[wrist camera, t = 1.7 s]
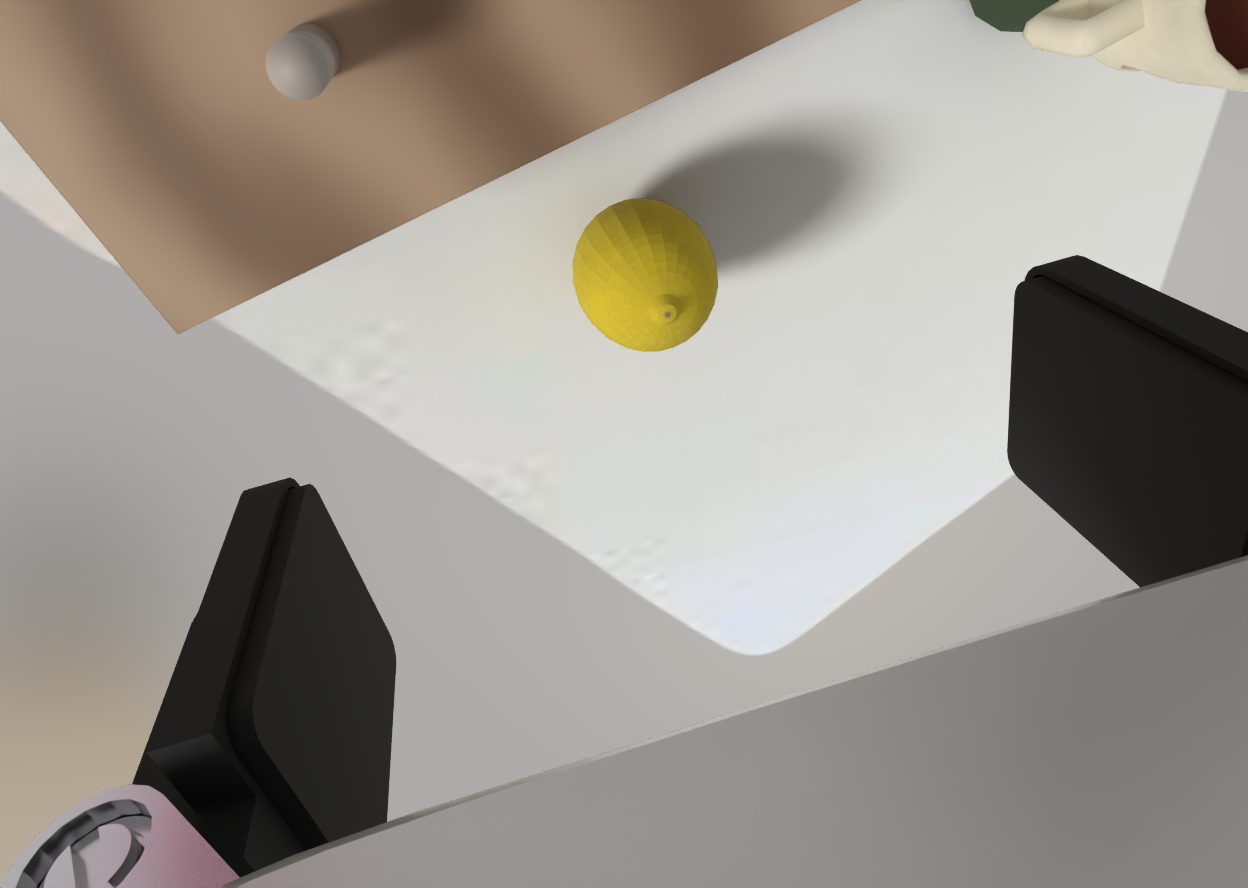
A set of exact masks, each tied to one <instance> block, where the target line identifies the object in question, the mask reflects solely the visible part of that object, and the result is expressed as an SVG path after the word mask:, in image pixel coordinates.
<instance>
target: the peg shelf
mask: <svg viewBox="0 0 1248 888" xmlns="http://www.w3.org/2000/svg"><path fill="white" fill-rule="evenodd" d="M859 1H861V0H0V121H1V122H2V124H3V125H4V126H5V127H6V128H7V130H8V131H9V132H10V133H11V135H12V136H13V137H14V138H15V139H16V141H17V142H18V143H19V144H20V145H21V147H22V148H23V149H24V150H25V151H26V153H27V154H28V155H29V156H30V157H31V159H32V160H33V161H34V162H35V163H36V165H37V166H38V167H39V168H40V169H41V171H42V172H43V173H44V174H45V175H46V177H47V178H48V179H49V180H50V181H51V183H52V184H53V185H54V186H55V187H56V189H57V190H58V191H59V192H60V194H61V195H62V196H63V197H64V198H65V200H66V201H67V202H68V203H69V204H70V206H71V207H72V208H73V209H74V210H75V212H76V213H77V214H78V215H79V216H80V218H81V219H82V220H83V221H84V222H85V224H86V225H87V226H88V227H89V228H90V230H91V231H92V232H93V233H94V234H95V236H96V237H97V238H98V239H99V240H100V242H101V243H102V244H103V245H104V247H105V248H106V249H107V250H108V251H109V253H110V254H111V255H112V256H113V257H114V259H115V260H116V261H117V262H118V263H119V265H120V266H121V267H122V268H123V269H124V271H125V272H126V273H127V274H128V275H129V277H130V278H131V279H132V280H133V281H134V283H135V284H136V285H137V286H138V287H139V289H140V290H141V291H142V292H143V293H144V295H145V296H146V297H147V298H148V299H149V301H150V302H151V303H152V304H153V306H154V307H155V308H156V309H157V310H158V311H159V312H160V314H161V315H162V316H163V317H164V319H165V320H166V321H167V322H168V324H169V325H170V326H171V327H172V328H173V330H174V331H175V332H176V333H177V334H180V333H182V332H184V331H186V330H188V329H190V328H192V327H194V326H196V325H198V324H200V323H202V322H204V321H206V320H209V319H211V318H213V317H215V316H217V315H219V314H221V313H223V312H225V311H227V310H229V309H231V308H233V307H235V306H237V305H239V304H241V303H243V302H245V301H247V300H249V299H251V298H253V297H256V296H258V295H260V294H262V293H264V292H266V291H268V290H270V289H272V288H274V287H276V286H278V285H280V284H282V283H284V282H286V281H288V280H290V279H292V278H294V277H296V276H298V275H300V274H303V273H305V272H307V271H309V270H311V269H313V268H315V267H317V266H319V265H321V264H323V263H325V262H327V261H329V260H331V259H333V258H335V257H337V256H339V255H341V254H343V253H345V252H348V251H350V250H352V249H354V248H356V247H358V246H360V245H362V244H364V243H366V242H368V241H370V240H372V239H374V238H376V237H378V236H380V235H382V234H384V233H386V232H388V231H390V230H392V229H395V228H397V227H399V226H401V225H403V224H405V223H407V222H409V221H411V220H413V219H415V218H417V217H419V216H421V215H423V214H425V213H427V212H429V211H431V210H433V209H435V208H437V207H440V206H442V205H444V204H446V203H448V202H450V201H452V200H454V199H456V198H458V197H460V196H462V195H464V194H466V193H468V192H470V191H472V190H474V189H476V188H478V187H480V186H482V185H484V184H487V183H489V182H491V181H493V180H495V179H497V178H499V177H501V176H503V175H505V174H507V173H509V172H511V171H513V170H515V169H517V168H519V167H521V166H523V165H525V164H527V163H529V162H532V161H534V160H536V159H538V158H540V157H542V156H544V155H546V154H548V153H550V152H552V151H554V150H556V149H558V148H560V147H562V146H564V145H566V144H568V143H570V142H572V141H574V140H576V139H579V138H581V137H583V136H585V135H587V134H589V133H591V132H593V131H595V130H597V129H599V128H601V127H603V126H605V125H607V124H609V123H611V122H613V121H615V120H617V119H619V118H621V117H624V116H626V115H628V114H630V113H632V112H634V111H636V110H638V109H640V108H642V107H644V106H646V105H648V104H650V103H652V102H654V101H656V100H658V99H660V98H662V97H664V96H666V95H668V94H671V93H673V92H675V91H677V90H679V89H681V88H683V87H685V86H687V85H689V84H691V83H693V82H695V81H697V80H699V79H701V78H703V77H705V76H707V75H709V74H711V73H713V72H716V71H718V70H720V69H722V68H724V67H726V66H728V65H730V64H732V63H734V62H736V61H738V60H740V59H742V58H744V57H746V56H748V55H750V54H752V53H754V52H756V51H758V50H760V49H763V48H765V47H767V46H769V45H771V44H773V43H775V42H777V41H779V40H781V39H783V38H785V37H787V36H789V35H791V34H793V33H795V32H797V31H799V30H801V29H803V28H805V27H808V26H810V25H812V24H814V23H816V22H818V21H820V20H822V19H824V18H826V17H828V16H830V15H832V14H834V13H836V12H838V11H840V10H842V9H844V8H846V7H848V6H850V5H852V4H855V3H857V2H859Z"/></svg>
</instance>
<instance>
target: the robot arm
mask: <svg viewBox="0 0 1248 888" xmlns="http://www.w3.org/2000/svg"><path fill="white" fill-rule="evenodd" d="M1007 452H1008V459H1009V463H1010V466H1011V468H1012V470H1013V472H1014V473H1015V475H1016V476H1017V477H1018V478H1019V479H1020V480H1021V481H1022V482H1023V483H1024V484H1026V485H1027V486H1028V487H1029V488H1030V489H1031V490H1032V491H1033V492H1034V493H1035V494H1037V495H1038V496H1039V497H1040V498H1041V499H1042V500H1043V501H1044V502H1046V503H1047V504H1048V505H1049V506H1050V507H1051V508H1052V509H1053V510H1054V511H1056V512H1057V513H1058V514H1059V515H1060V516H1061V517H1062V518H1063V519H1065V520H1066V521H1067V522H1068V523H1069V524H1070V525H1071V526H1072V527H1073V528H1075V529H1076V530H1077V531H1078V532H1079V533H1080V534H1081V535H1082V536H1083V537H1085V538H1086V539H1087V540H1088V541H1089V542H1090V543H1091V544H1093V545H1094V546H1095V547H1096V548H1097V549H1098V550H1099V551H1100V552H1101V553H1103V554H1104V555H1105V556H1106V557H1107V558H1108V559H1109V560H1110V561H1111V562H1112V563H1114V564H1115V565H1116V566H1117V567H1118V568H1119V569H1120V570H1121V571H1123V572H1124V573H1125V574H1126V575H1127V576H1128V577H1129V578H1130V579H1132V580H1133V581H1134V582H1135V583H1136V584H1137V585H1138V586H1139V587H1140V588H1138V589H1134V590H1131V591H1127V592H1124V593H1121V594H1117V595H1114V596H1111V597H1107V598H1105V599H1101V600H1098V601H1095V602H1091V603H1088V604H1084V605H1081V606H1078V607H1074V608H1071V609H1068V610H1064V611H1061V612H1058V613H1054V614H1051V615H1048V616H1044V617H1041V618H1038V619H1034V620H1031V621H1028V622H1025V623H1021V624H1018V625H1015V626H1011V627H1008V628H1005V629H1002V630H998V631H995V632H992V633H989V634H986V635H982V636H979V637H976V638H972V639H969V640H966V641H962V642H959V643H956V644H953V645H949V646H946V647H943V648H940V649H937V650H933V651H930V652H927V653H923V654H920V655H917V656H914V657H910V658H907V659H904V660H900V661H897V662H894V663H891V664H887V665H884V666H881V667H878V668H874V669H871V670H868V671H865V672H861V673H858V674H855V675H852V676H849V677H845V678H842V679H839V680H836V681H833V682H829V683H826V684H823V685H820V686H816V687H813V688H810V689H807V690H803V691H800V692H797V693H793V694H790V695H787V696H784V697H781V698H777V699H774V700H771V701H768V702H764V703H761V704H758V705H755V706H752V707H748V708H745V709H742V710H739V711H735V712H732V713H730V714H726V715H723V716H719V717H716V718H713V719H710V720H707V721H703V722H700V723H697V724H694V725H691V726H687V727H684V728H681V729H678V730H675V731H672V732H668V733H665V734H662V735H659V736H656V737H652V738H649V739H646V740H643V741H640V742H637V743H633V744H630V745H627V746H624V747H621V748H617V749H614V750H611V751H608V752H605V753H601V754H598V755H595V756H592V757H589V758H585V759H582V760H579V761H576V762H573V763H570V764H566V765H563V766H560V767H557V768H554V769H550V770H547V771H544V772H541V773H538V774H534V775H531V776H528V777H525V778H522V779H519V780H515V781H513V782H509V783H506V784H503V785H500V786H496V787H493V788H490V789H487V790H484V791H481V792H477V793H475V794H471V795H468V796H465V797H462V798H458V799H455V800H452V801H449V802H446V803H443V804H439V805H436V806H433V807H430V808H427V809H424V810H421V811H417V812H415V813H412V814H409V815H406V816H404V817H400V818H397V819H395V820H392V821H389V822H387V810H388V793H389V777H390V760H391V759H390V758H391V742H392V726H393V708H394V691H395V675H396V654H395V649H394V644H393V641H392V638H391V636H390V634H389V631H388V629H387V627H386V625H385V623H384V622H383V619H382V618H381V616H380V614H379V612H378V610H377V608H376V606H375V604H374V602H373V600H372V598H371V596H370V594H369V592H368V590H367V588H366V586H365V584H364V582H363V580H362V578H361V576H360V574H359V572H358V570H357V568H356V566H355V565H354V562H353V560H352V558H351V557H350V554H349V552H348V551H347V548H346V546H345V544H344V542H343V540H342V539H341V537H340V535H339V533H338V531H337V529H336V527H335V525H334V523H333V521H332V519H331V517H330V515H329V513H328V511H327V509H326V507H325V505H324V503H323V501H322V499H321V497H320V495H319V493H318V492H317V490H316V489H315V488H314V486H313V485H310V484H308V485H304V486H299V484H298V483H297V482H296V481H295V480H294V479H292V478H287V479H283V480H280V481H276V482H273V483H269V484H266V485H262V486H258V487H255V488H251V489H248V490H245V491H243V493H242V494H241V497H240V499H239V502H238V505H237V508H236V510H235V513H234V515H233V518H232V521H231V524H230V526H229V529H228V532H227V535H226V537H225V540H224V543H223V545H222V548H221V551H220V554H219V557H218V559H217V562H216V565H215V567H214V570H213V573H212V575H211V578H210V581H209V584H208V587H207V589H206V592H205V595H204V597H203V600H202V603H201V606H200V608H199V611H198V613H197V615H196V617H195V618H194V620H193V622H192V624H191V626H190V629H189V632H188V634H187V637H186V640H185V643H184V645H183V648H182V651H181V654H180V656H179V659H178V661H177V664H176V667H175V670H174V672H173V675H172V678H171V680H170V683H169V686H168V689H167V691H166V694H165V697H164V699H163V702H162V705H161V707H160V710H159V713H158V715H157V718H156V721H155V724H154V726H153V729H152V732H151V734H150V737H149V740H148V742H147V745H146V748H145V751H144V753H143V756H142V759H141V762H140V764H139V767H138V769H137V772H136V775H135V778H134V781H133V783H132V784H129V785H125V786H120V787H116V788H112V789H108V790H105V791H103V792H101V793H99V794H96V795H94V796H92V797H90V798H88V799H86V800H83V801H81V802H80V803H78V804H77V805H75V806H74V807H72V808H71V809H69V810H68V811H66V812H65V813H63V814H62V815H60V816H59V817H58V818H56V819H55V820H54V821H53V822H51V823H50V825H48V826H47V827H46V828H45V829H44V830H43V831H42V832H41V833H39V834H38V835H37V836H36V837H35V838H34V839H33V840H32V841H31V842H30V843H29V845H28V846H27V847H26V848H25V849H24V851H23V852H22V853H21V854H20V856H19V857H18V858H17V859H16V861H15V862H14V863H13V864H12V866H11V868H10V869H9V871H8V873H7V875H6V877H5V879H4V880H3V882H2V884H1V886H0V888H1248V332H1246V331H1243V330H1241V329H1239V328H1237V327H1235V326H1233V325H1230V324H1228V323H1226V322H1224V321H1222V320H1220V319H1217V318H1215V317H1213V316H1211V315H1209V314H1207V313H1205V312H1202V311H1200V310H1198V309H1196V308H1194V307H1192V306H1189V305H1187V304H1185V303H1183V302H1181V301H1179V300H1176V299H1174V298H1172V297H1170V296H1168V295H1166V294H1163V293H1161V292H1159V291H1157V290H1155V289H1153V288H1150V287H1148V286H1146V285H1144V284H1142V283H1140V282H1137V281H1135V280H1133V279H1131V278H1129V277H1127V276H1125V275H1122V274H1120V273H1118V272H1116V271H1114V270H1112V269H1109V268H1107V267H1105V266H1103V265H1101V264H1099V263H1096V262H1094V261H1092V260H1090V259H1088V258H1086V257H1083V256H1079V255H1076V256H1072V257H1068V258H1064V259H1061V260H1057V261H1054V262H1050V263H1047V264H1043V265H1040V266H1036V267H1033V268H1032V269H1031V270H1030V271H1028V273H1027V275H1026V277H1025V281H1023V282H1021V283H1020V284H1019V285H1018V286H1017V288H1016V290H1015V297H1014V318H1013V340H1012V361H1011V383H1010V404H1009V426H1008V448H1007Z"/></svg>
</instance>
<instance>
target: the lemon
mask: <svg viewBox="0 0 1248 888" xmlns="http://www.w3.org/2000/svg"><path fill="white" fill-rule="evenodd" d="M573 282H574V287H575V290H576V293H577V297H578V300H579V303H580V305H581V307H582V309H583V310H584V312H585V313H586V315H587V317H588V318H589V320H590V321H591V322H592V324H593V325H594V326H595V327H596V328H597V329H599V330H600V331H601V332H602V333H603V334H604V335H605V336H606V337H607V338H609V339H610V340H612V341H614V342H616V343H618V344H620V345H622V346H624V347H626V348H630V349H634V350H639V351H644V352H645V351H662V350H665V349H669V348H673V347H675V346H677V345H679V344H681V343H683V342H685V341H687V340H688V339H689V338H690V337H692V336H693V335H694V334H695V333H696V332H698V331H699V329H700V328H701V327H702V325H703V324H704V323H705V322H706V320H707V319H708V317H709V315H710V312H711V310H712V308H713V306H714V303H715V298H716V293H717V288H718V279H717V265H716V261H715V258H714V255H713V252H712V249H711V246H710V243H709V241H708V240H707V238H706V237H705V235H704V234H703V232H702V231H701V229H700V228H699V226H698V225H697V223H696V222H695V221H693V220H692V219H691V218H690V217H689V216H687V215H686V214H685V213H684V212H683V211H681V210H680V209H678V208H676V207H674V206H672V205H669V204H667V203H665V202H662V201H659V200H652V199H646V198H639V199H630V200H624V201H622V202H619V203H616V204H614V205H611V206H609V207H608V208H606V209H605V210H603V211H602V212H601V213H599V214H598V215H596V216H595V217H594V219H593V220H592V221H591V222H590V223H589V224H588V225H587V227H586V228H585V230H584V232H583V234H582V236H581V237H580V239H579V241H578V243H577V247H576V251H575V255H574V259H573Z"/></svg>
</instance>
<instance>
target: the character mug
mask: <svg viewBox="0 0 1248 888" xmlns="http://www.w3.org/2000/svg"><path fill="white" fill-rule="evenodd" d="M970 3H971V5H972V8H973V11H974V13H975V16H977V17H978V18H980V19H982V20H983V21H985V22H987V23H988V24H990V25H991V26H993V27H995V28H996V29H998V30H1000V31H1011V32H1023V34H1022V36H1023V37H1024V38H1025V40H1026V41H1027V42H1028V43H1029V44H1030V45H1031V46H1032V47H1033V48H1034V49H1038V50H1042V51H1047V52H1052V53H1056V54H1061V55H1066V56H1070V57H1087V56H1090V55H1091V56H1092V57H1093V58H1095V59H1096V60H1098V61H1099V62H1101V63H1102V64H1104V65H1105V66H1107V67H1110V68H1113V69H1116V70H1128V71H1144V72H1146V73H1149V74H1151V75H1153V76H1156V77H1160V78H1163V79H1167V80H1170V81H1173V82H1177V83H1181V84H1190V85H1200V86H1210V87H1215V88H1222V89H1229V90H1236V91H1243V92H1248V0H970Z"/></svg>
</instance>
